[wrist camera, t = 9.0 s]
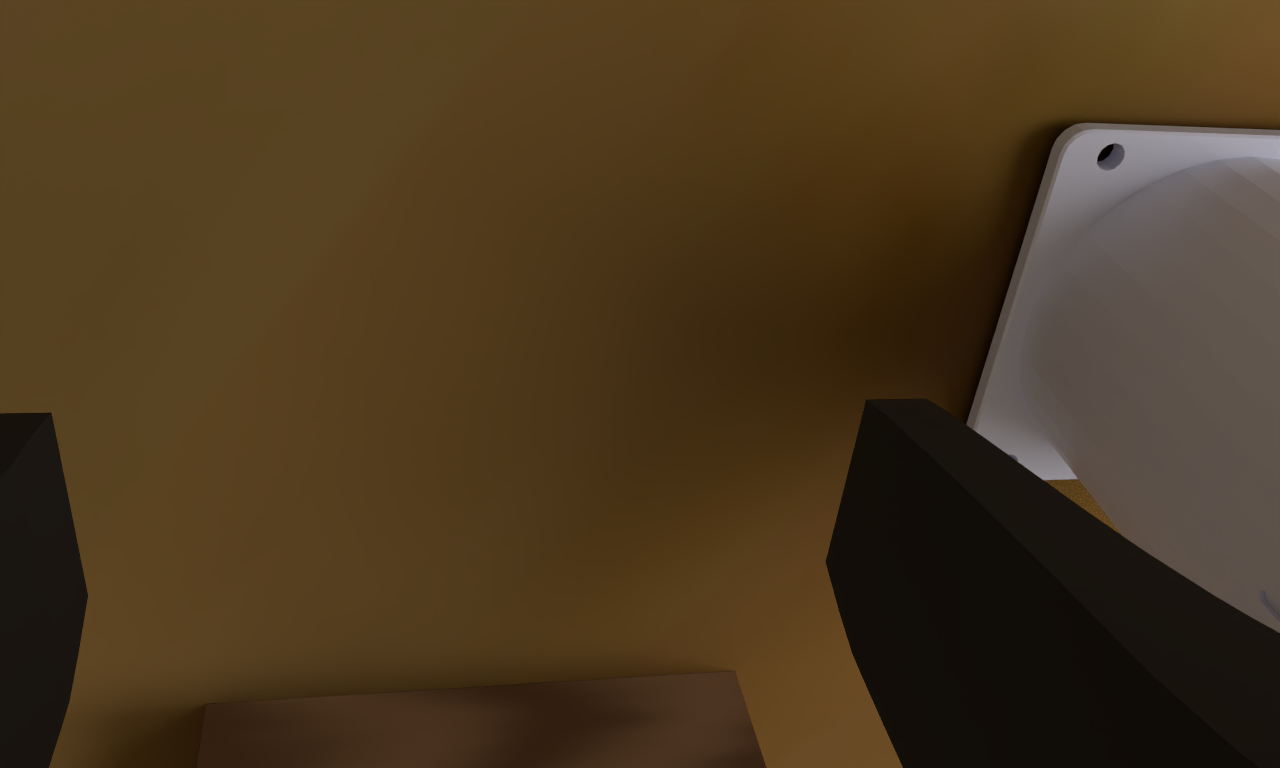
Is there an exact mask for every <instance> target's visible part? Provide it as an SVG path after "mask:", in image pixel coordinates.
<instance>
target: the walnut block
mask: <svg viewBox="0 0 1280 768" xmlns="http://www.w3.org/2000/svg"><path fill="white" fill-rule="evenodd" d="M196 768H766V765H765V762H764V759H763V756H762V753H761V750H760V747H759V744H758V741H757V738H756V735H755V732H754V729H753V725H752V722H751V719H750V716H749V713H748V710H747V707H746V704H745V701H744V698H743V695H742V692H741V689H740V685H739V682H738V679H737V676H736V673H735V671H725V672H709V673H693V674H677V675H661V676H645V677H629V678H613V679H597V680H581V681H565V682H549V683H533V684H517V685H501V686H485V687H469V688H453V689H437V690H421V691H405V692H389V693H373V694H357V695H341V696H325V697H309V698H293V699H277V700H261V701H245V702H229V703H213V704H206V709H205V715H204V722H203V728H202V735H201V741H200V747H199V754H198V760H197V767H196Z"/></svg>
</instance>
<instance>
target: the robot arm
mask: <svg viewBox="0 0 1280 768" xmlns="http://www.w3.org/2000/svg"><path fill="white" fill-rule="evenodd" d="M1110 144H1114V146H1113V150H1112V152H1111V153H1110V155H1109V156H1108V157H1107V158H1105V159H1104V160H1103V161H1099V162H1097V157H1098V155H1099V153H1100V152H1101V150H1102V149H1103V148H1105V147H1106V146H1107V145H1110ZM1064 479H1079V481H1080V482H1081V483H1082V484H1083V486H1084V487H1085V488H1086V490H1087V491H1088V492H1089V493H1090V495H1091V496H1092V497H1093V499H1094V500H1095V501H1096V503H1097V504H1098V505H1099V506H1100V508H1101V509H1102V510H1103V512H1104V513H1105V514H1106V515H1107V517H1108V518H1109V519H1110V521H1111V522H1112V523H1113V525H1114V526H1115V527H1116V528H1117V530H1118V531H1119V532H1120V534H1121V535H1120V534H1119V533H1117V532H1116V531H1114V530H1113V529H1111V528H1110V527H1109V526H1107V525H1106V524H1104V523H1103V522H1101V521H1100V520H1099V519H1097V518H1096V517H1094V516H1093V515H1091V514H1090V513H1088V512H1087V511H1086V510H1084V509H1083V508H1081V507H1080V506H1079V505H1077V504H1076V503H1074V502H1073V501H1072V500H1070V499H1069V498H1067V497H1066V496H1065V495H1063V494H1062V493H1060V492H1059V491H1058V490H1056V489H1055V488H1053V487H1052V486H1051V485H1049V484H1048V483H1046V482H1045V481H1044V480H1064ZM826 565H827V568H828V572H829V576H830V579H831V583H832V587H833V590H834V594H835V598H836V601H837V605H838V608H839V612H840V615H841V619H842V622H843V625H844V628H845V631H846V635H847V638H848V641H849V644H850V648H851V651H852V654H853V656H854V658H855V661H856V663H857V666H858V668H859V670H860V673H861V675H862V677H863V679H864V682H865V684H866V686H867V688H868V691H869V693H870V695H871V697H872V700H873V702H874V704H875V707H876V709H877V711H878V713H879V716H880V718H881V720H882V722H883V725H884V727H885V729H886V731H887V733H888V736H889V738H890V740H891V742H892V744H893V747H894V749H895V751H896V753H897V755H898V758H899V760H900V762H901V764H902V766H903V768H1280V130H1266V129H1239V128H1212V127H1185V126H1158V125H1131V124H1104V123H1081V124H1075V125H1073V126H1071V127H1069V128H1068V129H1066V130H1065V131H1064V132H1063V133H1062V134H1061V135H1060V136H1059V137H1058V138H1057V139H1056V141H1055V143H1054V145H1053V147H1052V150H1051V153H1050V156H1049V160H1048V163H1047V166H1046V169H1045V172H1044V176H1043V179H1042V182H1041V185H1040V189H1039V192H1038V195H1037V198H1036V201H1035V205H1034V208H1033V211H1032V214H1031V218H1030V221H1029V224H1028V227H1027V231H1026V234H1025V237H1024V240H1023V243H1022V247H1021V250H1020V253H1019V256H1018V260H1017V263H1016V266H1015V269H1014V272H1013V276H1012V279H1011V282H1010V285H1009V289H1008V292H1007V295H1006V298H1005V301H1004V305H1003V308H1002V311H1001V314H1000V318H999V321H998V324H997V327H996V330H995V334H994V337H993V340H992V343H991V347H990V350H989V353H988V356H987V359H986V363H985V366H984V369H983V372H982V376H981V379H980V382H979V385H978V389H977V392H976V395H975V398H974V401H973V405H972V408H971V411H970V414H969V418H968V421H967V424H964V423H963V422H962V421H960V420H959V419H957V418H956V417H954V416H953V415H951V414H950V413H948V412H947V411H945V410H944V409H942V408H940V407H939V406H937V405H935V404H934V403H932V402H931V401H929V400H927V399H878V400H866V403H865V407H864V411H863V415H862V419H861V423H860V427H859V431H858V435H857V439H856V443H855V447H854V451H853V455H852V459H851V463H850V467H849V471H848V475H847V479H846V483H845V487H844V491H843V495H842V499H841V503H840V507H839V511H838V515H837V519H836V523H835V527H834V531H833V535H832V539H831V543H830V547H829V551H828V555H827V559H826ZM87 598H88V593H87V588H86V583H85V578H84V573H83V568H82V563H81V558H80V553H79V548H78V543H77V538H76V533H75V528H74V523H73V518H72V513H71V508H70V503H69V498H68V493H67V488H66V483H65V478H64V473H63V468H62V463H61V458H60V453H59V448H58V443H57V438H56V433H55V428H54V423H53V418H52V413H4V414H0V768H49V765H50V762H51V759H52V756H53V752H54V749H55V746H56V743H57V740H58V737H59V734H60V730H61V727H62V724H63V721H64V717H65V714H66V711H67V707H68V704H69V700H70V695H71V690H72V684H73V679H74V674H75V668H76V663H77V658H78V652H79V646H80V640H81V634H82V628H83V622H84V616H85V610H86V604H87Z"/></svg>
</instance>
